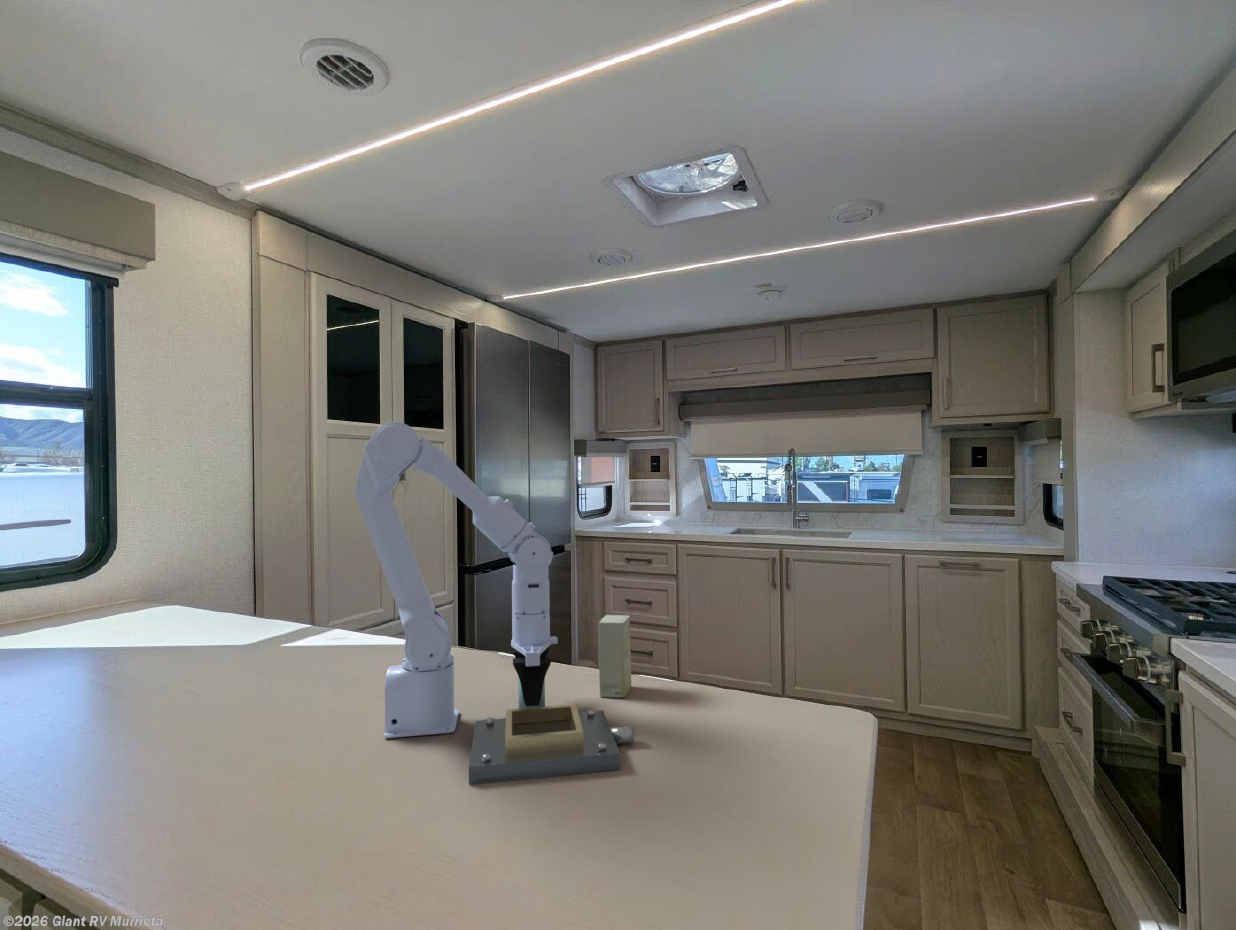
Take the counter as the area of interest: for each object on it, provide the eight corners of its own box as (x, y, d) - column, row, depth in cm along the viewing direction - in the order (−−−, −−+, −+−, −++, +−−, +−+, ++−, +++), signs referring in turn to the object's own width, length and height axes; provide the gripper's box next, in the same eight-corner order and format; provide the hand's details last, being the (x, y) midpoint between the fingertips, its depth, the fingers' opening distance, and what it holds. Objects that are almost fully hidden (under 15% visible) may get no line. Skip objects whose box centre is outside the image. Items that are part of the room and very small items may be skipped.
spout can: (518, 716, 91) (518, 668, 91) (518, 706, 95) (518, 660, 95) (545, 714, 91) (545, 666, 92) (544, 704, 95) (543, 658, 95)
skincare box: (625, 699, 98) (623, 623, 98) (598, 697, 99) (597, 622, 99) (631, 685, 104) (630, 614, 104) (606, 684, 105) (605, 613, 105)
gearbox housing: (468, 784, 71) (468, 749, 71) (475, 735, 85) (475, 706, 85) (644, 767, 75) (643, 734, 75) (623, 722, 88) (623, 694, 88)
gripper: (560, 619, 87) (561, 715, 87) (553, 600, 101) (554, 682, 101) (510, 622, 86) (511, 719, 85) (510, 602, 100) (511, 685, 100)
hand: (531, 699), depth 93 cm, fingers closed on spout can, 4 cm apart
